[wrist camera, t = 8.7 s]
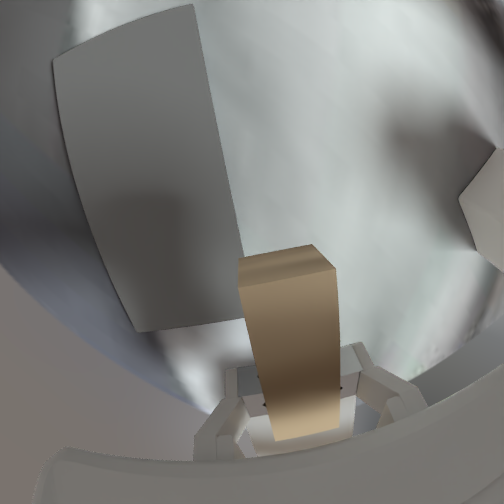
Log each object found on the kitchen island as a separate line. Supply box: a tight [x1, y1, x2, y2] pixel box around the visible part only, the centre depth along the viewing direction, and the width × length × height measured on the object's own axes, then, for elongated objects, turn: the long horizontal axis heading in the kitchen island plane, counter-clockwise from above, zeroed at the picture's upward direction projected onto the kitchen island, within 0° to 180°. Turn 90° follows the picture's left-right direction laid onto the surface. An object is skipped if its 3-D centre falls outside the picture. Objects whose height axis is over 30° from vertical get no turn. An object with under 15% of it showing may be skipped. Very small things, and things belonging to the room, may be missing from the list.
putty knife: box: [238, 244, 356, 457], centre depth 12 cm, size 15×6×3 cm, turn 10°
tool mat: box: [53, 4, 245, 333], centre depth 15 cm, size 20×9×1 cm, turn 10°
